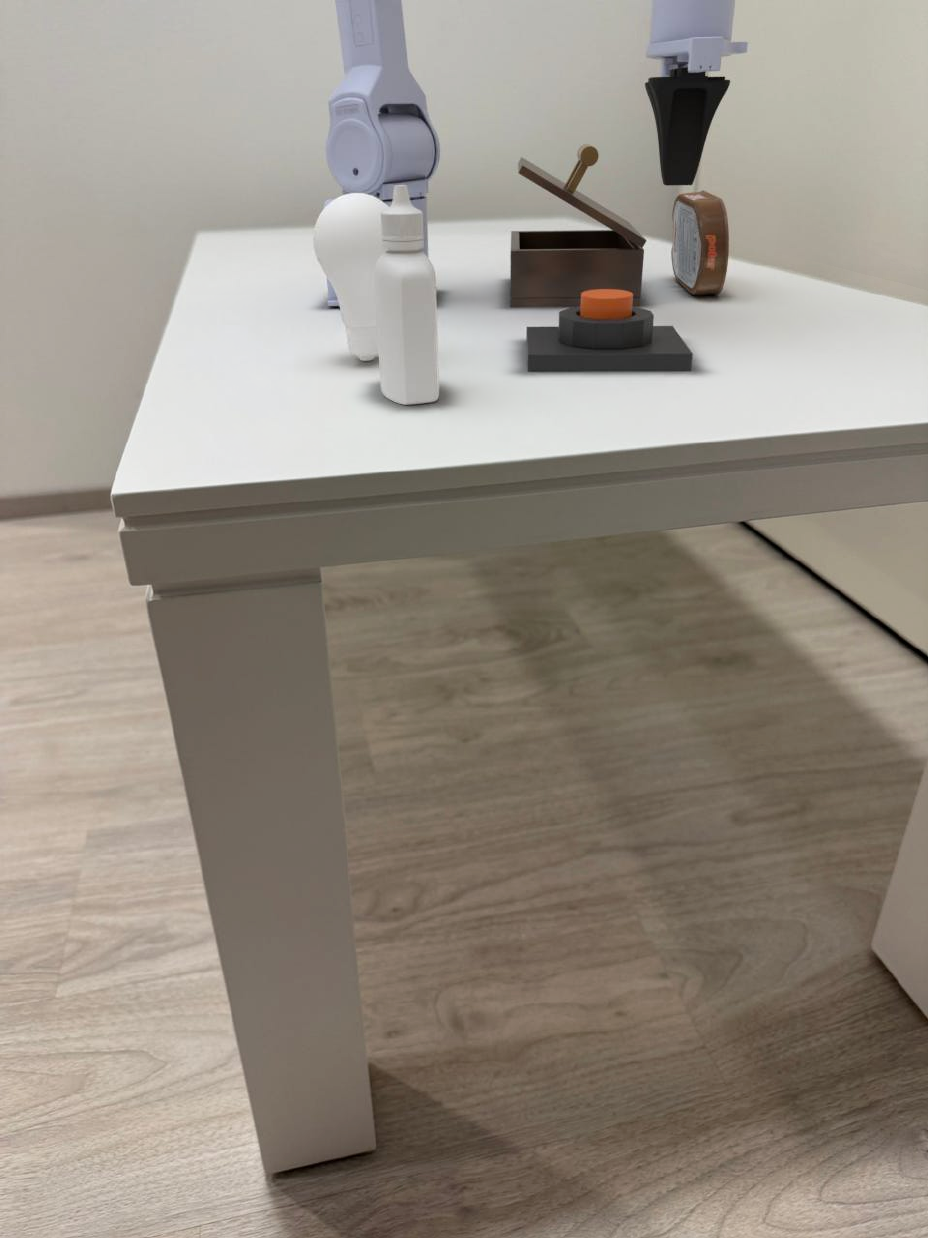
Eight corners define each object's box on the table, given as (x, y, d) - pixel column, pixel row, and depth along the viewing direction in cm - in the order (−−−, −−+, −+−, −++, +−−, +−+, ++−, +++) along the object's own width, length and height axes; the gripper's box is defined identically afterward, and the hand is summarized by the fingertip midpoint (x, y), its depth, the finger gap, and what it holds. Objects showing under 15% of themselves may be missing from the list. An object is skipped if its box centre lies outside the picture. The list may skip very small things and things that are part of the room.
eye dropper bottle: (452, 384, 61) (448, 181, 55) (433, 408, 56) (426, 189, 50) (388, 381, 61) (377, 181, 56) (363, 405, 56) (349, 189, 51)
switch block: (527, 372, 63) (528, 326, 61) (526, 342, 71) (526, 301, 69) (691, 371, 62) (695, 325, 61) (671, 341, 70) (675, 300, 69)
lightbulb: (342, 375, 63) (327, 198, 58) (312, 357, 68) (296, 192, 62) (423, 363, 65) (416, 193, 60) (389, 347, 70) (380, 187, 65)
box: (510, 307, 83) (510, 250, 81) (510, 280, 96) (511, 230, 94) (640, 306, 83) (644, 249, 80) (623, 279, 95) (626, 229, 93)
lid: (518, 172, 78) (546, 117, 76) (517, 163, 91) (542, 115, 89) (642, 247, 80) (673, 195, 78) (624, 228, 93) (651, 183, 91)
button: (581, 324, 64) (582, 298, 63) (578, 314, 67) (579, 288, 66) (634, 324, 64) (635, 297, 63) (628, 313, 67) (630, 288, 66)
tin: (726, 301, 84) (738, 200, 80) (691, 302, 84) (701, 200, 80) (693, 275, 97) (702, 186, 93) (663, 275, 97) (671, 187, 93)
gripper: (781, -48, 58) (751, 191, 64) (733, -21, 70) (712, 177, 77) (666, -45, 58) (649, 192, 65) (639, -18, 71) (627, 178, 77)
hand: (677, 184), depth 71 cm, fingers closed
